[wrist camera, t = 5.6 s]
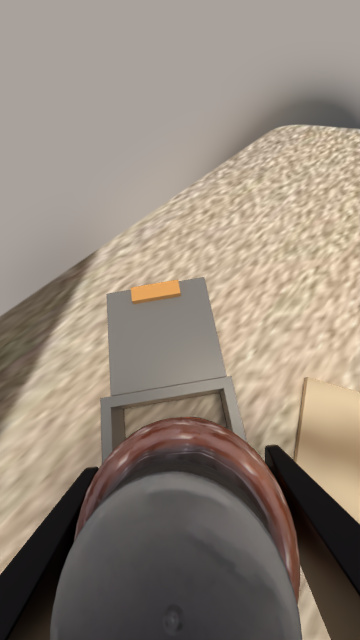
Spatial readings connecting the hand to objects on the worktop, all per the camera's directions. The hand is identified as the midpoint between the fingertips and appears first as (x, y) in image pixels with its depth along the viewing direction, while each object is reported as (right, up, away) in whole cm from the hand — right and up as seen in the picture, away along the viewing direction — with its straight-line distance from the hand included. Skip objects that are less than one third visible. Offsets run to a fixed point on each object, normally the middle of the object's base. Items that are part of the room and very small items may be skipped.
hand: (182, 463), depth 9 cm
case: (-1, -1, +14) cm, 14 cm away
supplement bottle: (+1, -4, +6) cm, 7 cm away
